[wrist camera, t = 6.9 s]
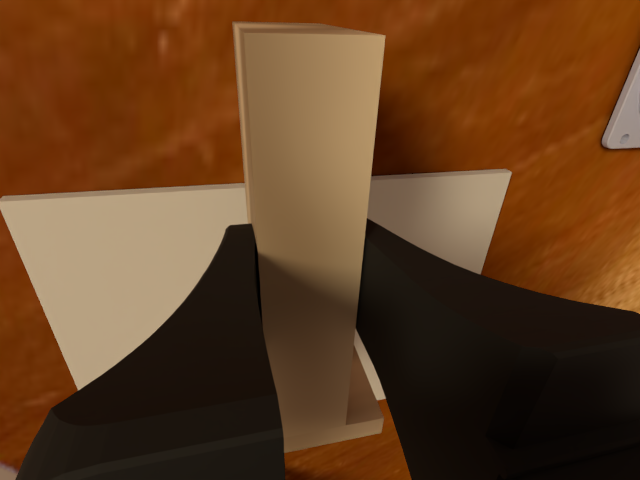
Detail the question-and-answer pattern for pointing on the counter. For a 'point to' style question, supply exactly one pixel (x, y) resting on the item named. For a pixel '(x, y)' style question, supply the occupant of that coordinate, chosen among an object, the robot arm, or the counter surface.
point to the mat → (203, 250)
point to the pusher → (310, 214)
